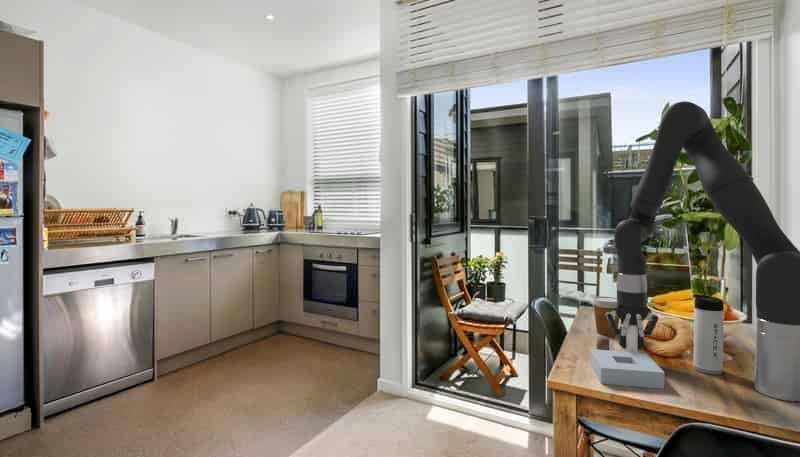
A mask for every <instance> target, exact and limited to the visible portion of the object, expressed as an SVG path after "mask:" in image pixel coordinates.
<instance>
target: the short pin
mask: <svg viewBox="0 0 800 457" xmlns="http://www.w3.org/2000/svg"><path fill="white" fill-rule="evenodd" d="M596 350H610V338H609V337H606V336H596Z"/></svg>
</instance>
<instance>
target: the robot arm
mask: <svg viewBox="0 0 800 457" xmlns="http://www.w3.org/2000/svg"><path fill="white" fill-rule="evenodd" d="M656 133H657V134H656V138H655V141H654V143H653V144H654V145H653V146H652V147H653V148H652V151H651V154H650V157H649V160H648V163H647V164H646V167H645V170H644V172H643V174H642V176H641V178H640V181H639V182H638V185H637V188H636V190H635V192H634V194H633V195H632V198H631V201H630V208H631V211H630V212H631V213H630V214H629V218H628V219H625V220H622V221H620V222H619V223H618V224H617V225H616V226H615V229H614V235H613V236H614V244H615V245H614V246H615V250H616V255H617V257H618V260H617V277H616V298H617V307H616V309H615V311H612V312H606V313H605V314H606V317H607V319H608V321H609V324H610V326H611V328H612V330H613V332H614V333H617V335H618V344H619V346H620V347H621V348H622V349H626V336H625V334H626V330H627V328H628V325H630V324H634V325H637V326H638V351H641V350H642V348H643V347H644V338H645V336H651V335H652V334H653V332H654V329H655V327H656V325H657V323H658V321H659V319H660V318H659V316H658V315H657V314H655V313H650V312H649V310H648V302H647V301H648V279H647V258H646V255H645V254H644V253H642V252H643V251H642V243H643V242H645V241H647V240H648V238H649V237H650V235H651V233H652V231H653V228H654V225H655V222H656V217H657V213H658V210H659V209H660V208H661V205H662V203H663V201H664V200H665V197H666V195H667V192H668V190H669V187H670V184H671V181H672V177H673V173H674V169H675V166H676V163H677V161H678V158H679V155H680V154H681V151H682V150H683V149H684V151H685V152H686V154H687V155H688V156H689V158H690V159H691V161H692V163H693V165H694V168H695V170H696V173H697V176H698V178H699V182H700V184H701V187H702V188H703V191H704V192H705V194H706V196H707V198H708V199H709V200H710V202H711V203H712V205H713V206H714V208H715V209H716V211H717V212H718V213H719V215H720V216H721V217H722V218H723V220H725V222H726V223H727V224H728V225H729V226H730V227H731V228H732V229H733V230H734V231H735V232H736V233H737V234H738V235H739V236H740V237H741V238H742V240H743V242H744V243H745V244H746V246H747V248H748V250H749V251H750V253H751V254H752V256H753V258H754V261H755V263H756V269H755V270H756V271H755V308H756V309H755V310H756V311H755V312H756V314H755V317H756V320H755V354H754V355H755V361H754V389H755V390H756V391H757V392H759V393H760V394H762V395H765V396H768V397H771V398H773V399H778V400H781V401H788V402H795V401H797V402H799V403H800V250H799V249H798V248H797V247H796V246H795V245H794V243H793V242H792V241H791V239H789V238H788V237H787V235H786V234H785V233H784V232H783V230H782V229H781V228H780V226H779V224H778V223H777V221H776V219H775V217H774V214H773V212H772V211H771V209H770V206H769V205H768V202H767V201H766V199H765V197H764V196H763V194H762V192H761V191H760V190H759V187H757V185H756V184H755V182H754V181H753V179H752V178H751V177H750V175H749V174H748V172H747V171H746V170H745V169H744V166H742V165H741V163H740V162H739V161H738V160H737V158H735V157H734V155H733V154H732V153H731V152H730V151H729V150H728V149H727V148H726V147H725V145H724V144H723V142H722V141H721V139H720V136H719V135H718V133H717V132H716V129H715V127H714V125H713V124H712V122H711V119H710V118H709V116H708V113H707V112H706V110H705V109H704V108H702V107H701V106H700V105H699V104H696V103H694V102H692V101H691V102H690V101H686V100H685V101H679V102H675V103H673V104H671V105H670V106H669V107H667V108H666V109H665V111H664V112H663V114H662V115H661V119H660V122H659V126H658V129H657V132H656ZM615 315H617V316H618V317H619V326H618V328H617V326H616V324H615V322H614V319H615ZM645 319H647V323H646V325H645V327H644V326H643V322H644V321H645Z"/></svg>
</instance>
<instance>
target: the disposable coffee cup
mask: <svg viewBox="0 0 800 457" xmlns="http://www.w3.org/2000/svg"><path fill="white" fill-rule="evenodd" d="M591 302H592V305H593V312H594V313H593V314H594V318H595V319H594V320H595V326H596V327H595V328H596V333H597V334H599V335H602V336H605V337H606V336H608V337H612V336H617V335H618V334H617V333H614V332H613V330H612V328H611V326H610V324H609V321H608V319H607V317H606V314H605V313H606V312H612V311H615V309H616V307H617V297H613V296H595V297H593V300H592V301H591ZM614 322H615V324H616V326H617V328H618V329H619V325H620V318H619V317H618V316H617V315H615V319H614Z"/></svg>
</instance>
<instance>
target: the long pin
mask: <svg viewBox="0 0 800 457" xmlns="http://www.w3.org/2000/svg"><path fill="white" fill-rule="evenodd" d="M625 336H626V349H624V350H623V351H626V352H639V350H638V326H637V325H634V324H630V325H628V328H627V330H626V334H625Z"/></svg>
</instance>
